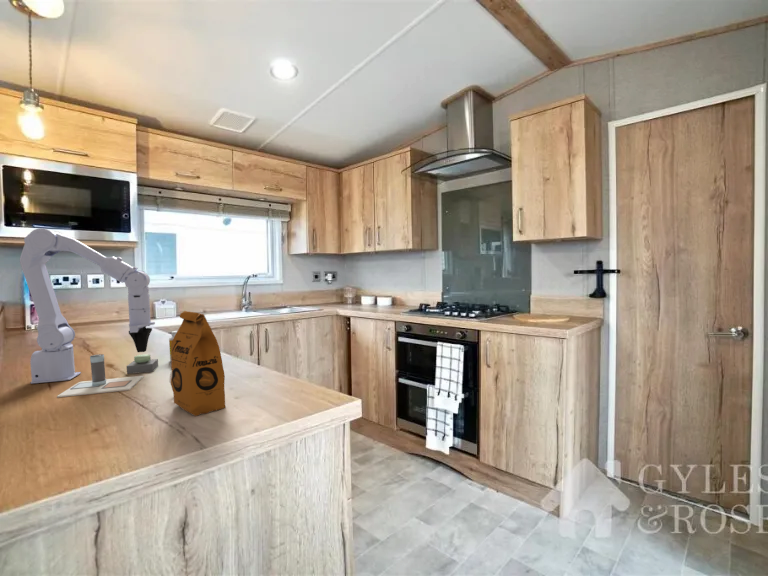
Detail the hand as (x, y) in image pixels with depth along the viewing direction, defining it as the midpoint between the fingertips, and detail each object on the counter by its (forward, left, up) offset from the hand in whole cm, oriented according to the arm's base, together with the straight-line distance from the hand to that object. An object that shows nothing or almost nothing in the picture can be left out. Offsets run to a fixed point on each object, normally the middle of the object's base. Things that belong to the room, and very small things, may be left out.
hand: (141, 351), depth 124 cm
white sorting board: (-5, -16, -6) cm, 18 cm away
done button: (0, 0, -5) cm, 5 cm away
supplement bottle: (+9, +11, -6) cm, 15 cm away
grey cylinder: (-7, -15, -5) cm, 17 cm away
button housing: (0, 0, -6) cm, 6 cm away
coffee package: (+23, -43, -6) cm, 49 cm away
